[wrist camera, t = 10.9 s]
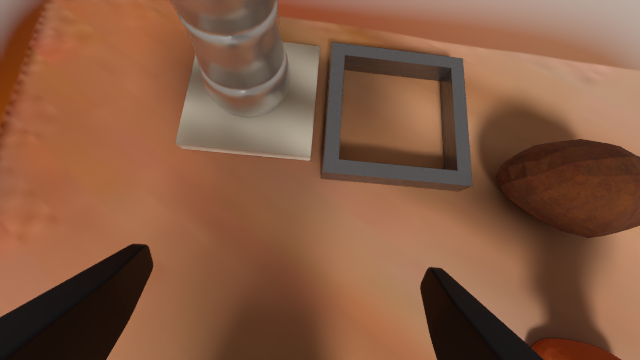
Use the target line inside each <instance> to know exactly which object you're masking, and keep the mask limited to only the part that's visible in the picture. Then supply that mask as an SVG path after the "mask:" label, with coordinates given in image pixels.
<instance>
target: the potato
mask: <svg viewBox="0 0 640 360" xmlns="http://www.w3.org/2000/svg"><path fill="white" fill-rule="evenodd" d="M497 179H498V182H499V185H500V188H501V190H502V191H503V192H504V194H505V195H506V196H507V198H508V199H510V200H511V201H512V202H514V203H515V204H516V205H518V206H519V207H520V208H522V209H523V210H525V211H526V212H528V213H529V214H531V215H533V216H534V217H536V218H537V219H539V220H541V221H543V222H545V223H547V224H550V225H552V226H553V227H555V228H557V229H559V230H561V231H564V232H568V233H572V234H576V235H580V236H583V237H587V238H591V237H599V236H605V235H609V234H613V233H617V232H621V231H624V230H628V229H631V228H634V227H637V226H640V157H639V156H636V155H634V154H632V153H631V152H629V151H627V150H625V149H624V148H622V147H620V146H616V145H612V144H607V143H601V142H595V141H589V140H583V139H579V140H570V141H562V142H553V143H546V144H541V145H536V146H533V147H531V148H529V149H526V150H524V151H522V152H520V153H519V154H517V155H515V156H513V157H512V158H510V159H509V160H508V161H506V162H505V163H504V164H503V165H502V166H501V168H500V170H499V172H498V174H497Z"/></svg>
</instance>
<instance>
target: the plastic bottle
mask: <svg viewBox="0 0 640 360" xmlns="http://www.w3.org/2000/svg"><path fill="white" fill-rule="evenodd" d="M170 1H171V3H172V5H173V6H174V8H175V10H176V11H177V14H178V15H179V17H180V19H181V21H182V22H183V24H184V26H185V28H186V31H187V33H188V36H189V39H190V41H191V44H192V47H193V49H194V52H195V54H196V57H197V60H198V65H199V70H200V74H201V77H202V80H203V84H204V87H205V89H206V91H207V93H208V94H209V96H210V97H211V98H212V99H213V100H214V101H215V102H216V103H217V104H218V105H219V106H220V107H221V108H222V109H223V110H225V111H226V112H228V113H230V114H232V115H235V116H239V117H247V118H250V117H258V116H262V115H265V114H267V113H269V112H271V111H272V110H274V109H275V108H277V107H278V106H279V105H280V104H281V102H282V101H283V99H284V98H285V96H286V93H287V90H288V86H289V82H290V75H291V74H290V66H289V62H288V57H287V54H286V51H285V48H284V46H283V42H282V36H281V30H280V24H279V18H278V10H277V9H278V8H277V7H278V6H277V0H170Z"/></svg>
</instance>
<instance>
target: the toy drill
mask: <svg viewBox="0 0 640 360" xmlns="http://www.w3.org/2000/svg"><path fill="white" fill-rule="evenodd" d="M531 348H532V349H533V350H534V351H535V352H536V353H537V354H539V355H540V356H541V357H542V358H543V359H544V360H621V359H619V358H618V357H616V356H614V355H613V354H611V353H609V352H608V351H606V350H604V349H601V348H599V347H596V346H593V345H589V344H585V343H580V342H577V341H572V340H567V339H559V338H547V339H542V340H539V341H537V342H536V343H535V344H534V345H533V346H532V347H531Z"/></svg>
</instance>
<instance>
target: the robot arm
mask: <svg viewBox="0 0 640 360" xmlns="http://www.w3.org/2000/svg"><path fill="white" fill-rule="evenodd" d="M152 269H153V261H152V257H151V253H150V250H149V247H148V246H147V245H145V244H131V245H129V246H127V247H126V248H124V249H122V250H120V251H118V252H117V253H115V254H113V255H111V256H109V257H108V258H106V259H104V260H102V261H100V262H99V263H97V264H95V265H93V266H91V267H90V268H88V269H86V270H84V271H82V272H81V273H79V274H77V275H75V276H73V277H72V278H70V279H68V280H66V281H65V282H63V283H61V284H59V285H57V286H56V287H54V288H52V289H50V290H48V291H47V292H45V293H43V294H41V295H39V296H38V297H36V298H34V299H32V300H30V301H29V302H27V303H25V304H23V305H21V306H20V307H18V308H16V309H14V310H12V311H11V312H9V313H7V314H5V315H4V316H2V317H0V360H106V359H107V357H108V356H109V354H110V352H111V350H112V349H113V347H114V345H115V344H116V342H117V340H118V338H119V337H120V335H121V333H122V332H123V330H124V328H125V326H126V325H127V323H128V321H129V319H130V317H131V315H132V313H133V311H134V309H135V307H136V305H137V302H138V300H139V298H140V296H141V294H142V292H143V289H144V287H145V285H146V283H147V281H148V278H149V276H150V274H151V272H152ZM420 290H421V295H422V300H423V305H424V310H425V314H426V319H427V324H428V329H429V333H430V337H431V341H432V344H433V348H434V351H435V354H436V357H437V360H544V359H543V358H542V357H541V356H540V355H539V354H537V353H536V352H535V351H534V350H533V349H532V348H531V347H530V346H528V345H527V344H526V343H525V342H524V341H523V340H522V339H521V338H520V337H518V336H517V335H516V334H515V333H514V332H513V331H512V330H511V329H509V328H508V327H507V326H506V325H505V324H504V323H503V322H502V321H500V320H499V319H498V318H497V317H496V316H495V315H494V314H493V313H491V312H490V311H489V310H488V309H487V308H486V307H485V306H484V305H482V304H481V303H480V302H479V301H478V300H477V299H476V298H475V297H473V296H472V295H471V294H470V293H469V292H468V291H467V290H466V289H465V288H463V287H462V286H461V285H460V284H459V283H458V282H457V281H456V280H454V279H453V278H452V277H451V276H450V275H449V274H448V273H447V272H445V271H444V270H443V269H441V268H435V267H429V268H428V269H427V271H426V273H425V275H424V278H423V280H422V282H421V286H420Z"/></svg>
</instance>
